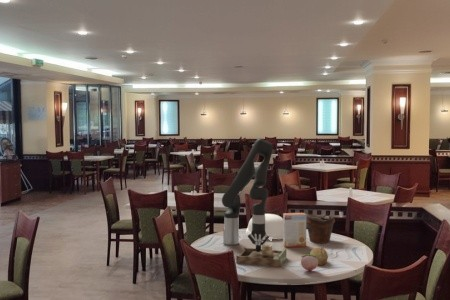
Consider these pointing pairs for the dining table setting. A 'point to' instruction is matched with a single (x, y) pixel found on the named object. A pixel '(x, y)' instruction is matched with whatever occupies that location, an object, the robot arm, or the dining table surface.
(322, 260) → the bread roll
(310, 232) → the brown plant pot
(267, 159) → the robot arm
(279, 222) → the dome cover
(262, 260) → the wooden divided tray
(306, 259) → the decorative fruit
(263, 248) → the maple block
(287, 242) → the cracker box
